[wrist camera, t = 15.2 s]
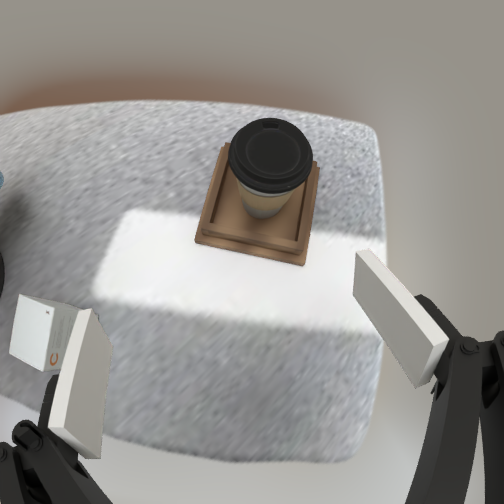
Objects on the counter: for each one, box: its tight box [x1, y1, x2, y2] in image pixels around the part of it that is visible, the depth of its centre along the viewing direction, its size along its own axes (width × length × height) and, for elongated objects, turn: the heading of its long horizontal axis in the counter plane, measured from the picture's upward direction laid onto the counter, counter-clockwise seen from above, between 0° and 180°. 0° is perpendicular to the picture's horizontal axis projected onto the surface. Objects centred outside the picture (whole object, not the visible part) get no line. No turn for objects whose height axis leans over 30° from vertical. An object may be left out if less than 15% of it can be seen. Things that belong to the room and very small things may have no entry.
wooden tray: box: [194, 142, 320, 266], centre depth 46 cm, size 16×16×4 cm
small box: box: [9, 294, 99, 372], centre depth 35 cm, size 8×6×13 cm
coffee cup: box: [228, 118, 313, 219], centre depth 39 cm, size 9×9×15 cm
